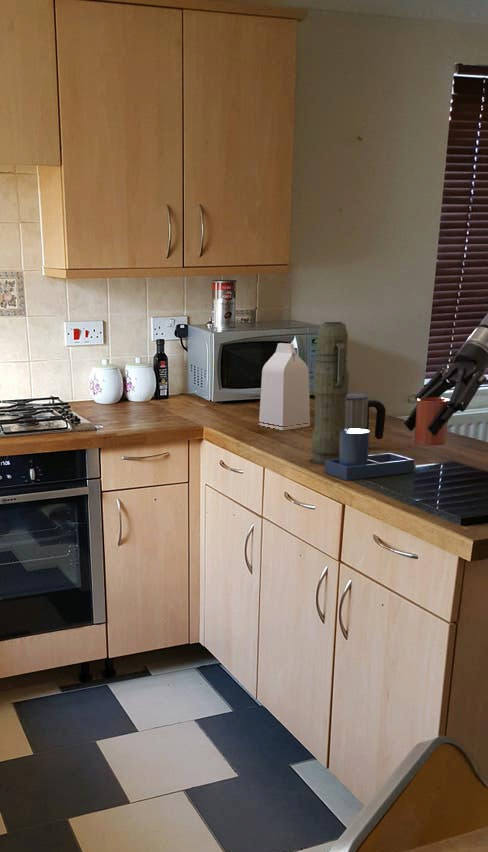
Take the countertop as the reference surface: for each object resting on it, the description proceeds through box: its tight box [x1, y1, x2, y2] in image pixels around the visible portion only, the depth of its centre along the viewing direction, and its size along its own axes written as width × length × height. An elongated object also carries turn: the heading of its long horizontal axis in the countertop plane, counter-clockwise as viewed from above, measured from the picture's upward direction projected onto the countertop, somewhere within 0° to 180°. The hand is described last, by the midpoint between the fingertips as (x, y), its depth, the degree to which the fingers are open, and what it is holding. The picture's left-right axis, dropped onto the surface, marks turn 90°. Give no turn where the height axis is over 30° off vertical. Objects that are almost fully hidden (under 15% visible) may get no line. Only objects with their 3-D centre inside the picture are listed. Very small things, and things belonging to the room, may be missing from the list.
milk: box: [258, 342, 311, 431], centre depth 280 cm, size 12×12×26 cm
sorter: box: [324, 452, 415, 481], centre depth 215 cm, size 10×19×3 cm, turn 111°
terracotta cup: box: [414, 397, 450, 446], centre depth 202 cm, size 7×7×10 cm
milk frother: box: [345, 393, 387, 440], centre depth 245 cm, size 14×16×15 cm
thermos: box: [311, 321, 350, 465], centre depth 224 cm, size 9×12×35 cm
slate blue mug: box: [339, 429, 370, 467], centre depth 212 cm, size 7×7×10 cm
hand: (419, 429), depth 201 cm, fingers closed on terracotta cup, 7 cm apart
